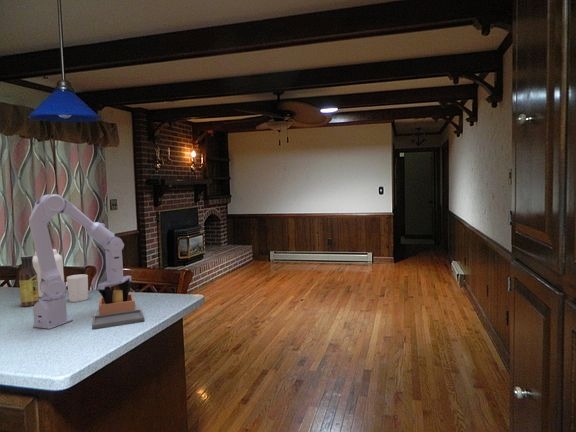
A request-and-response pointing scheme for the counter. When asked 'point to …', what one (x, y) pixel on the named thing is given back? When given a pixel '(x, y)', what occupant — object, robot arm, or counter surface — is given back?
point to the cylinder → (117, 296)
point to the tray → (117, 319)
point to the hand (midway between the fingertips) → (116, 304)
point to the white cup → (78, 287)
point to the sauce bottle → (28, 282)
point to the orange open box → (116, 306)
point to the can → (37, 268)
